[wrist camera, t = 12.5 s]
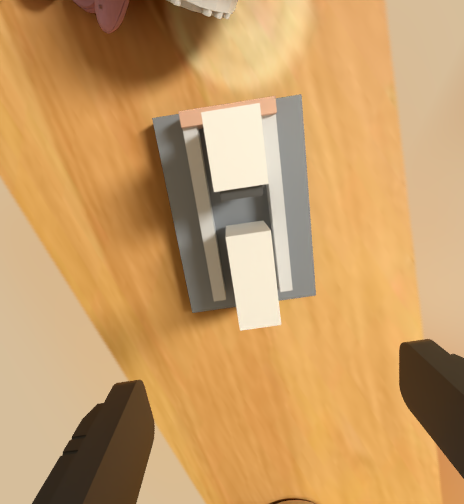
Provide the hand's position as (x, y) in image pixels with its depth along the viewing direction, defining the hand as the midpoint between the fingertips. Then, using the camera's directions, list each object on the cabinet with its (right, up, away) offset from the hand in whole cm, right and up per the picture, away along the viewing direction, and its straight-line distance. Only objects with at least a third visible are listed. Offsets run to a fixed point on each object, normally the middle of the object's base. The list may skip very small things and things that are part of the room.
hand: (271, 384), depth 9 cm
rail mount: (0, +8, +15) cm, 17 cm away
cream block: (+1, -1, +13) cm, 14 cm away
